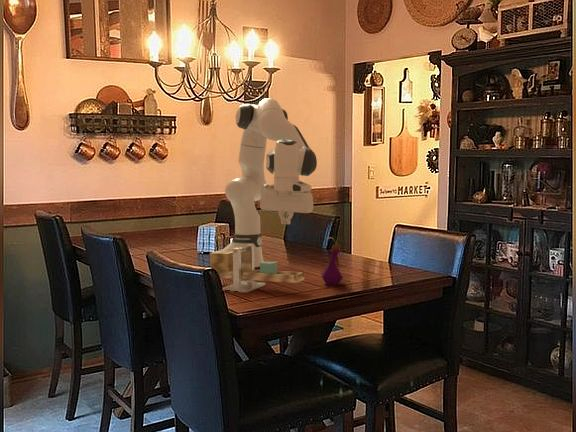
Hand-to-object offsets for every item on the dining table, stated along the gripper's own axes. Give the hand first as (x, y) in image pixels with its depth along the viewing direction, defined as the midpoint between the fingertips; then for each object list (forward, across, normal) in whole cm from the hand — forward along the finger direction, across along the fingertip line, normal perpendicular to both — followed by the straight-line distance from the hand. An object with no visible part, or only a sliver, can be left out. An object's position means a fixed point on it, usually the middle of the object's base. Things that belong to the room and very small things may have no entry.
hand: (285, 224), depth 236 cm
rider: (+19, -5, -2) cm, 20 cm away
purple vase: (+24, +11, +17) cm, 32 cm away
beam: (+21, -11, -2) cm, 23 cm away
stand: (+25, -16, -2) cm, 30 cm away
